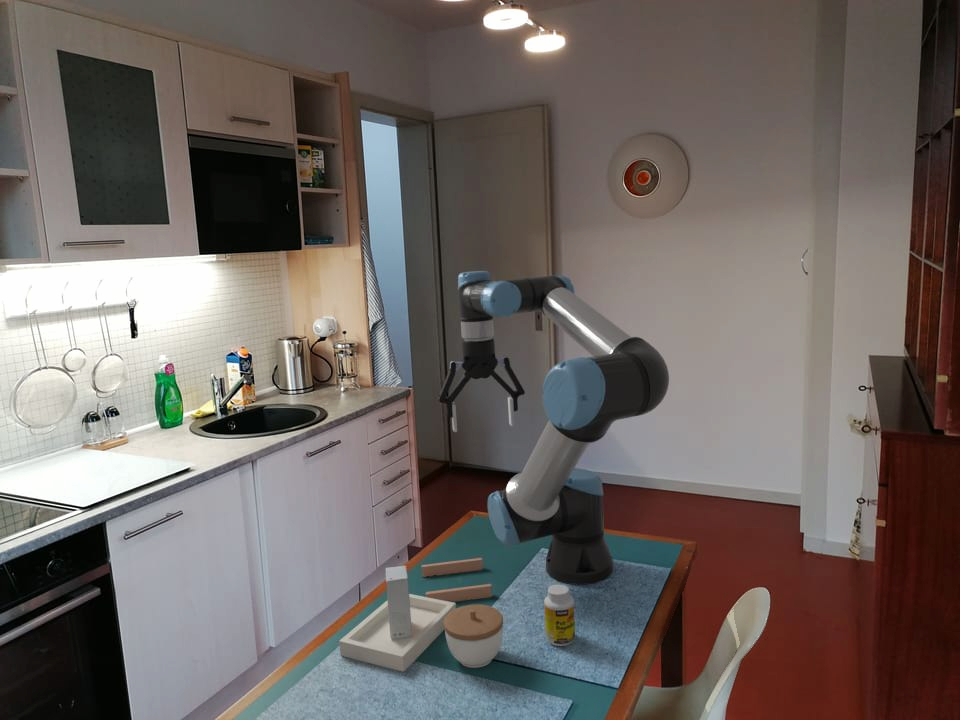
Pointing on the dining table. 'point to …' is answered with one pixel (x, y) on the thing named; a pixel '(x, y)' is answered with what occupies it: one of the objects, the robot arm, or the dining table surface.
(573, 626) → the supplement bottle
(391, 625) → the skincare box
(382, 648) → the cream tray
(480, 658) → the lidded jar
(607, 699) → the dining table surface
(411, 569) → the dining table surface
